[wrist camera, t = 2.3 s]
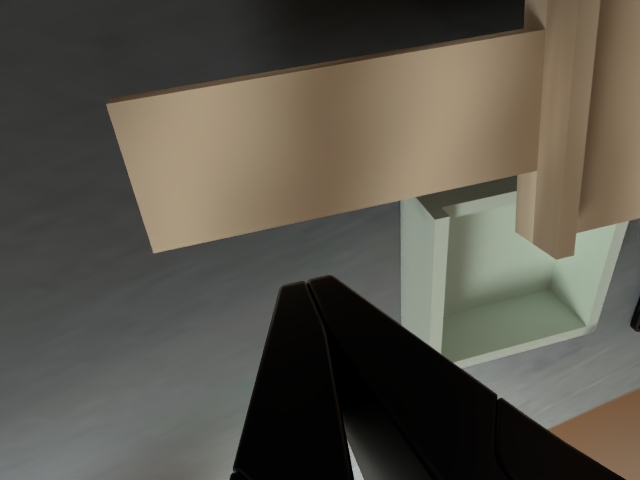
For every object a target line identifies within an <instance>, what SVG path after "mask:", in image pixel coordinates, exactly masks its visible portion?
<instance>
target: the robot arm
mask: <svg viewBox="0 0 640 480" xmlns="http://www.w3.org/2000/svg"><path fill="white" fill-rule="evenodd" d="M630 326H631V327H632V328H633V329H634V330H635V331H636V332H640V298H639V301H638V304H637V307H636V309H635V312H634V315H633V318H632V320H631V323H630ZM347 440H348V442H349V445H350V447H351V449H352V452H353V454H354V457H355V459H356V461H357V464H358V466H359V468H360V471H361V473H362V476H363V478H364V480H626V479H624V478H622V477H621V476H619V475H617V474H616V473H614V472H612V471H611V470H609V469H608V468H606V467H604V466H603V465H601V464H600V463H598V462H596V461H595V460H593V459H592V458H590V457H588V456H587V455H585V454H584V453H582V452H580V451H579V450H577V449H576V448H574V447H572V446H571V445H569V444H567V443H566V442H564V441H563V440H561V439H560V438H558V437H557V436H555V435H554V434H553V433H551V432H550V431H548V430H547V429H545V428H544V427H543V426H541V425H540V424H538V423H537V422H535V421H534V420H532V419H531V418H529V417H528V416H527V415H525V414H524V413H522V412H521V411H520V410H518V409H517V408H515V407H514V406H513V405H511V404H510V403H509V402H507V401H506V400H504V399H503V398H499V399H498V400H497V394H496V393H494V392H493V391H492V390H490V389H489V388H487V387H486V386H485V385H483V384H482V383H481V382H479V381H478V380H476V379H475V378H474V377H472V376H471V375H469V374H468V373H467V372H465V371H464V370H463V369H461V368H460V367H458V366H457V365H456V364H454V363H453V362H452V361H450V360H449V359H447V358H446V357H445V356H443V355H442V354H440V353H439V352H438V351H436V350H435V349H434V348H432V347H431V346H429V345H428V344H427V343H425V342H424V341H423V340H421V339H420V338H418V337H417V336H416V335H414V334H413V333H411V332H410V331H409V330H407V329H406V328H405V327H403V326H402V325H400V324H399V323H398V322H396V321H395V320H394V319H392V318H391V317H389V316H388V315H387V314H385V313H384V312H382V311H381V310H380V309H378V308H377V307H376V306H374V305H373V304H371V303H370V302H369V301H367V300H366V299H365V298H363V297H362V296H360V295H359V294H358V293H356V292H355V291H353V290H352V289H351V288H349V287H348V286H347V285H345V284H344V283H342V282H341V281H340V280H338V279H337V278H336V277H334V276H332V275H326V276H321V277H317V278H313V279H309V280H308V282H307V284H306V283H305V282H304V281H299V282H295V283H290V284H286V285H283V286H281V287H280V289H279V292H278V296H277V300H276V304H275V308H274V312H273V316H272V319H271V323H270V327H269V331H268V335H267V339H266V342H265V346H264V350H263V354H262V358H261V362H260V366H259V369H258V373H257V377H256V381H255V385H254V389H253V392H252V396H251V400H250V404H249V408H248V412H247V415H246V419H245V423H244V427H243V431H242V435H241V439H240V442H239V446H238V450H237V454H236V458H235V462H234V465H233V471H234V473H232V474H231V476H230V480H354V476H353V471H352V465H351V459H350V454H349V448H348V443H347Z"/></svg>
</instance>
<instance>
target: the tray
mask: <svg viewBox="0 0 640 480" xmlns="http://www.w3.org/2000/svg"><path fill="white" fill-rule="evenodd" d="M516 198H517V175H516V176H511V177H506V178H502V179H497V180H492V181H488V182H483V183H478V184H474V185H469V186H464V187H460V188H455V189H450V190H446V191H441V192H437V193H432V194H427V195H423V196H418V197H413V198H409V199H404V200H400V213H401V325H402V326H403V327H405V328H406V329H407V330H409V331H410V332H411V333H413V334H414V335H416V336H417V337H418V338H420V339H421V340H423V341H424V342H425V343H427V344H428V345H429V346H431V347H432V348H434V349H435V350H436V351H438V352H439V353H440V354H442V355H443V356H445V357H446V358H447V359H449V360H450V361H452V362H453V363H454V364H456V365H457V366H458V367H460V368H465V367H468V366H472V365H476V364H479V363H483V362H487V361H490V360H494V359H498V358H501V357H505V356H509V355H512V354H516V353H520V352H523V351H527V350H531V349H534V348H538V347H542V346H545V345H549V344H553V343H557V342H560V341H564V340H568V339H571V338H575V337H579V336H582V335H586V334H590V333H593V332H595V329H596V326H597V323H598V319H599V316H600V313H601V310H602V306H603V303H604V300H605V297H606V294H607V290H608V287H609V284H610V281H611V277H612V274H613V271H614V268H615V265H616V261H617V258H618V255H619V252H620V248H621V245H622V242H623V239H624V236H625V232H626V229H627V226H628V223H629V221H626V222H622V223H618V224H613V225H609V226H605V227H601V228H597V229H592V230H588V231H584V232H580V233H576V241H575V250H574V256H570V257H566V258H562V259H558V260H556V259H554V258H553V257H551V256H550V255H549V254H547V253H546V252H544V251H543V250H541V249H540V248H538V247H537V246H535V245H534V244H532V243H531V242H529V241H528V240H526V239H525V238H523V237H522V236H520V235H519V234H517V233H516V232H515V221H516Z"/></svg>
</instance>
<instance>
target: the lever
mask: <svg viewBox="0 0 640 480" xmlns="http://www.w3.org/2000/svg"><path fill="white" fill-rule="evenodd" d="M106 106H107V109H108V112H109V115H110V118H111V121H112V124H113V127H114V131H115V134H116V137H117V140H118V143H119V146H120V149H121V153H122V156H123V159H124V162H125V165H126V168H127V171H128V174H129V178H130V181H131V184H132V187H133V190H134V193H135V196H136V200H137V203H138V206H139V209H140V212H141V215H142V218H143V221H144V225H145V228H146V231H147V234H148V237H149V240H150V243H151V247H152V250H153V253H158V252H162V251H167V250H172V249H176V248H181V247H186V246H190V245H195V244H200V243H204V242H209V241H213V240H218V239H223V238H227V237H232V236H237V235H241V234H246V233H251V232H255V231H260V230H265V229H269V228H274V227H279V226H283V225H288V224H292V223H297V222H302V221H306V220H311V219H316V218H320V217H325V216H330V215H334V214H339V213H344V212H348V211H353V210H358V209H362V208H367V207H371V206H376V205H381V204H385V203H390V202H395V201H399V200H404V199H409V198H413V197H418V196H423V195H427V194H432V193H437V192H441V191H446V190H450V189H455V188H460V187H464V186H469V185H474V184H478V183H483V182H488V181H492V180H497V179H502V178H506V177H511V176H516V175H517V198H516V221H515V232H516V233H517V234H519V235H520V236H522V237H523V238H525V239H526V240H528V241H529V242H531V243H532V244H534V245H535V246H537V247H538V248H540V249H541V250H543V251H544V252H546V253H547V254H549V255H550V256H551V257H553V258H554V259H556V260H558V259H562V258H566V257H570V256H574V250H575V241H576V233H580V232H584V231H588V230H592V229H597V228H601V227H605V226H609V225H613V224H618V223H622V222H626V221H630V220H634V219H639V218H640V0H525V14H524V29H519V30H513V31H507V32H501V33H495V34H489V35H483V36H477V37H471V38H465V39H459V40H453V41H448V42H442V43H436V44H430V45H424V46H418V47H412V48H406V49H400V50H394V51H388V52H382V53H376V54H371V55H365V56H359V57H353V58H347V59H341V60H335V61H329V62H323V63H317V64H311V65H305V66H299V67H294V68H288V69H282V70H276V71H270V72H264V73H258V74H252V75H246V76H240V77H234V78H228V79H222V80H216V81H211V82H205V83H199V84H193V85H187V86H181V87H175V88H169V89H163V90H157V91H151V92H145V93H139V94H134V95H128V96H122V97H116V98H112V99H111V100H110V101H109V102H108V103H107V104H106Z"/></svg>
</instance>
